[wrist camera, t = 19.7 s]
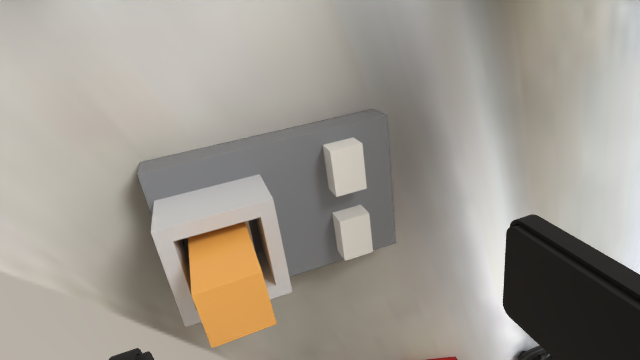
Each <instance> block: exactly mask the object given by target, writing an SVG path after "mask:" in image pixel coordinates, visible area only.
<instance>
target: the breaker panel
mask: <svg viewBox="0 0 640 360" xmlns="http://www.w3.org/2000/svg"><path fill="white" fill-rule="evenodd" d="M137 175H138V178H139V181H140V184H141V187H142V190H143V192H144V195H145V198H146V201H147V204H148V207H149V209H150V212H151V215H152V224H151V234H152V237H153V240H154V243H155V246H156V248H157V251H158V254H159V257H160V259H161V262H162V265H163V268H164V270H165V273H166V276H167V279H168V281H169V284H170V287H171V290H172V293H173V295H174V298H175V301H176V304H177V306H178V309H179V312H180V315H181V317H182V320H183V323H184V326H185V327H188V326H191V325H194V324H197V323H200V322H202V321H201V319H200V316H199V314H198V311H197V308H196V306H195V303H194V301H193V298H192V295H191V279H190V263H189V247H188V237H191V236H195V235H198V234H202V233H206V232H209V231H213V230H216V229H220V228H223V227H227V226H231V225H234V224H238V223H241V222H245V221H248V222H249V226H250V230H251V234H252V239H253V243H254V247H255V251H256V255H257V259H258V261H259V264H260V267H261V270H262V273H263V277H264V280H265V284H266V287H267V291H268V295H269V298H270V299H273V298H276V297H279V296H282V295H285V294H288V293H291V292H292V287H291V283H290V278H289V277H291V276H294V275H297V274H300V273H303V272H306V271H310V270H313V269H316V268H319V267H322V266H325V265H328V264H331V263H335V262H338V261H341V260H345V261H346V260H350V259H353V258H356V257H359V256H362V255H365V254H368V253H371V252H373V250H375V249H378V248H381V247H385V246H388V245H391V244H394V243H396V238H395V224H394V210H393V195H392V181H391V167H390V152H389V138H388V124H387V115H385V114H383V113H380V112H378V111H376V110H374V109H371V110H367V111H362V112H358V113H353V114H349V115H345V116H340V117H336V118H332V119H327V120H323V121H318V122H314V123H310V124H305V125H301V126H297V127H292V128H288V129H284V130H279V131H275V132H270V133H266V134H262V135H257V136H253V137H249V138H244V139H240V140H235V141H231V142H227V143H222V144H218V145H214V146H209V147H205V148H200V149H196V150H192V151H187V152H183V153H179V154H174V155H170V156H165V157H161V158H157V159H152V160H148V161H144V162H140V164H139V168H138V173H137Z"/></svg>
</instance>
